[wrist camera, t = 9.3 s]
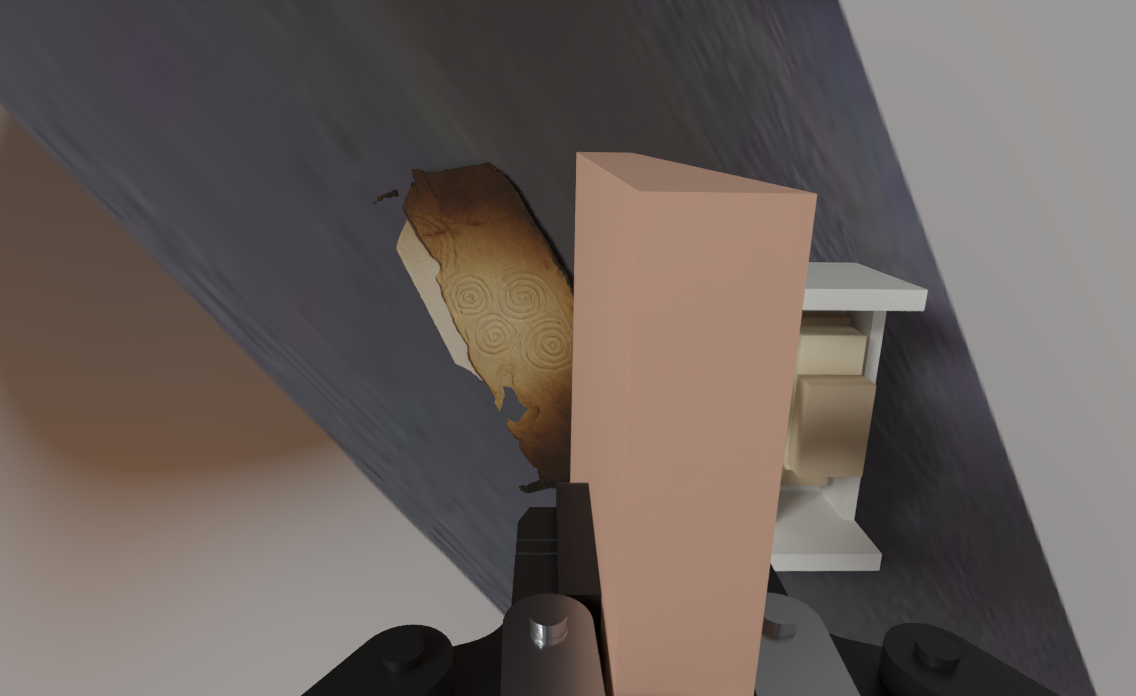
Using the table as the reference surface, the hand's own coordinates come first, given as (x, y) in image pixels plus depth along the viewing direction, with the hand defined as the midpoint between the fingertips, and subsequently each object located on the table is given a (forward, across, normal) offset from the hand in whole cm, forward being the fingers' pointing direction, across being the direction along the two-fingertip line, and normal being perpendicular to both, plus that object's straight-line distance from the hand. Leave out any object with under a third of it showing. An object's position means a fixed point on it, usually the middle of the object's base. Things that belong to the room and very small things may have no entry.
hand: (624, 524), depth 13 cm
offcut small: (+27, -16, +9) cm, 33 cm away
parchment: (+34, +4, +5) cm, 34 cm away
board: (+8, 0, 0) cm, 8 cm away
